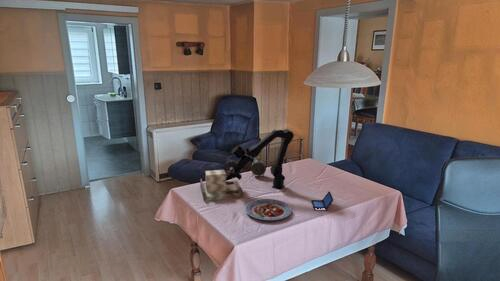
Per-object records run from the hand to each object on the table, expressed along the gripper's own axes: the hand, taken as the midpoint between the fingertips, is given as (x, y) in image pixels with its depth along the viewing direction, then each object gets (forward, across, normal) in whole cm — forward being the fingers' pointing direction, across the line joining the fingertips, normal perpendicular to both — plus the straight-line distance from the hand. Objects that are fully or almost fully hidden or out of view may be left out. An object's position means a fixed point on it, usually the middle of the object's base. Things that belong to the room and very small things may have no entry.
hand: (225, 180), depth 206 cm
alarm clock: (-14, -22, +25) cm, 36 cm away
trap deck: (+7, 0, +4) cm, 8 cm away
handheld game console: (-31, +32, +42) cm, 62 cm away
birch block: (+8, 0, -1) cm, 8 cm away
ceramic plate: (-8, +33, +19) cm, 39 cm away
